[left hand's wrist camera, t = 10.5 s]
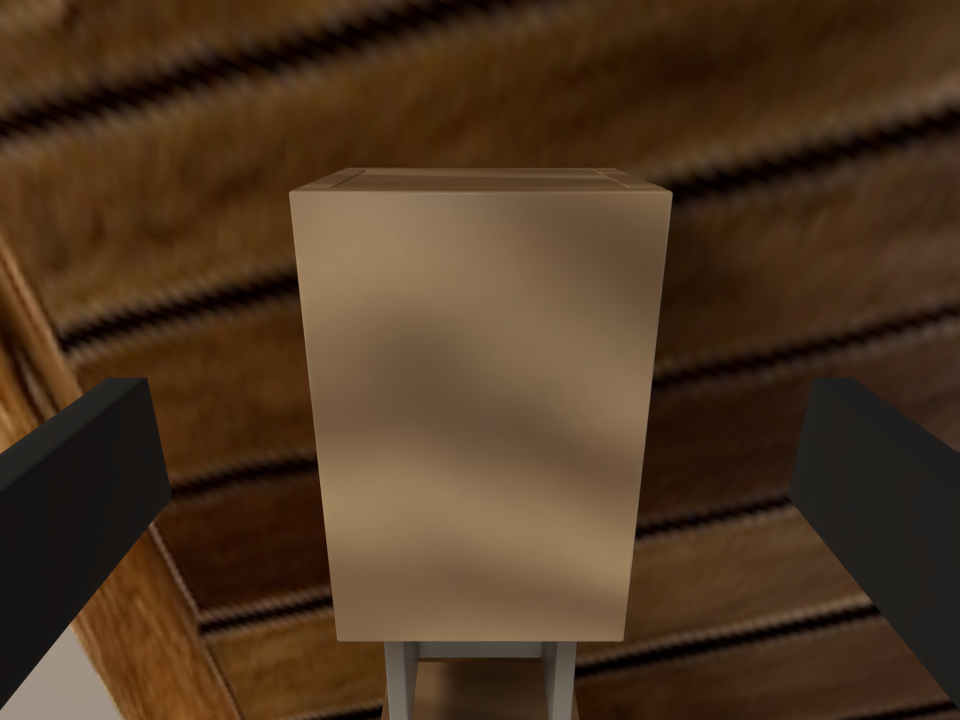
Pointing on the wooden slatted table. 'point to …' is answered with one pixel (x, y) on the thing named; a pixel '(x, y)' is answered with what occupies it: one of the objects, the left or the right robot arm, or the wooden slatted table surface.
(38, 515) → the left robot arm
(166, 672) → the wooden slatted table surface
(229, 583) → the wooden slatted table surface
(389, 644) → the drawer
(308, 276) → the cabinet
